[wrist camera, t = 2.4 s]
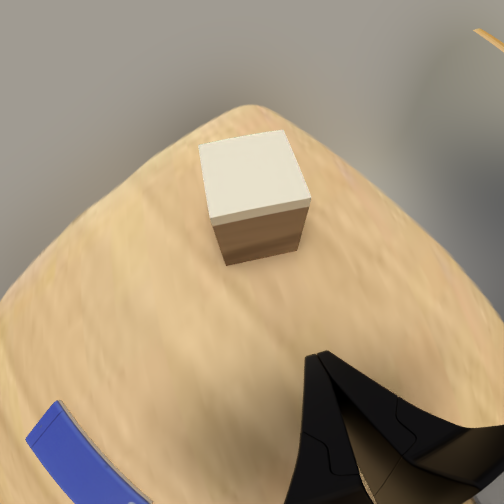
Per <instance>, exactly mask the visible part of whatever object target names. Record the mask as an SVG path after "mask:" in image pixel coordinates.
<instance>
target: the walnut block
mask: <svg viewBox="0 0 504 504" xmlns="http://www.w3.org/2000/svg"><path fill="white" fill-rule="evenodd" d="M198 147H199V153H200V160H201V167H202V173H203V179H204V186H205V192H206V198H207V204H208V210H209V216H210V220H211V223H212V226H213V229H214V232H215V235H216V238H217V241H218V244H219V247H220V250H221V253H222V255H223V258H224V261H225V264H226V266H228V265H233V264H237V263H242V262H246V261H251V260H256V259H260V258H265V257H269V256H274V255H278V254H283V253H288V252H292V251H297V248H298V245H299V241H300V238H301V234H302V231H303V227H304V223H305V220H306V216H307V213H308V209H309V205H310V201H311V195H310V193H309V190H308V187H307V185H306V182H305V180H304V177H303V175H302V172H301V170H300V168H299V165H298V163H297V160H296V158H295V156H294V153H293V151H292V149H291V146H290V144H289V142H288V139H287V137H286V135H285V132H284V130H277V131H270V132H263V133H257V134H251V135H245V136H240V137H234V138H229V139H224V140H219V141H214V142H209V143H205V144H200V145H198Z"/></svg>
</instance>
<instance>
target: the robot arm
mask: <svg viewBox="0 0 504 504" xmlns="http://www.w3.org/2000/svg"><path fill="white" fill-rule="evenodd" d="M357 464H358V466H359V468H360V470H361V472H362V474H363V476H364V478H365V480H366V482H367V484H368V486H369V488H370V490H371V492H372V494H373V496H375V497H374V498H375V500H376V502H377V504H504V425H499V426H491V427H481V428H466V427H461V426H458V425H455V424H453V423H451V422H448V421H446V420H443V419H441V418H439V417H436V416H434V415H432V414H430V413H428V412H425V411H423V410H421V409H419V408H417V407H416V406H414V405H412V404H410V403H409V402H407V401H405V400H404V399H402V398H400V397H398V396H397V395H395V394H394V393H392V392H391V391H389V390H388V389H386V388H384V387H383V386H381V385H380V384H378V383H377V382H375V381H374V380H372V379H370V378H369V377H367V376H366V375H364V374H363V373H361V372H360V371H358V370H357V369H355V368H354V367H352V366H351V365H349V364H348V363H346V362H345V361H343V360H342V359H340V358H339V357H337V356H336V355H334V354H333V353H331V352H330V351H327V350H326V351H323V352H319V353H317V355H316V354H312V355H309V356H306V357H305V366H304V388H303V405H302V420H301V433H300V443H299V451H298V457H297V461H296V465H295V469H294V473H293V476H292V479H291V483H290V486H289V489H288V492H287V495H286V499H285V501H284V504H374V503H373V501H372V500H371V498H370V496H369V495H368V493H367V491H366V490H365V488H364V485H363V483H362V480H361V476H360V473H359V469H358V466H357Z"/></svg>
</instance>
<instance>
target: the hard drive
mask: <svg viewBox="0 0 504 504" xmlns="http://www.w3.org/2000/svg"><path fill="white" fill-rule="evenodd" d="M25 440H26V442H27V443H28V445H29V446H30V448H31V449H32V450H33V452H34V453H35V455H36V456H37V458H38V459H39V460H40V462H41V463H42V465H43V466H44V467H45V469H46V470H47V471H48V472H49V474H50V475H51V476H52V478H53V479H54V480H55V481H56V483H57V484H58V485H59V486H60V487H61V489H62V490H63V491H64V492H65V493H66V494H67V495H68V497H69V498H70V499H71V500H72V501H73V502H74V503H75V504H152V503H153V501H152V500H151V499H149V498H148V497H147V496H146V495H145V494H144V493H142V492H141V491H140V490H139V489H138V488H137V487H136V486H135V485H134V484H133V483H131V482H130V481H129V480H128V479H127V478H126V477H125V476H124V475H123V474H122V473H121V472H120V471H119V470H118V469H117V468H116V467H115V466H114V465H113V464H112V463H111V462H110V460H109V459H108V458H107V457H106V456H105V455H104V454H103V453H102V452H101V451H100V449H99V448H98V447H97V446H96V445H95V444H94V443H93V441H92V440H91V439H90V438H89V437H88V435H87V434H86V433H85V432H84V430H83V429H82V428H81V427H80V425H79V424H78V423H77V421H76V420H75V419H74V417H73V416H72V415H71V413H70V412H69V411H68V409H67V408H66V406H65V405H64V404H63V402H62V401H61V400H58V401H55V402H54V403H53V404H52V405H51V407H50V408H49V409H48V410H47V412H46V413H45V414H44V415H43V417H42V418H41V419H40V420H39V422H38V423H37V424H36V426H35V427H34V428H33V429H32V431H31V432H30V433H29V435H28V436H27V437H26V439H25Z"/></svg>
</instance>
